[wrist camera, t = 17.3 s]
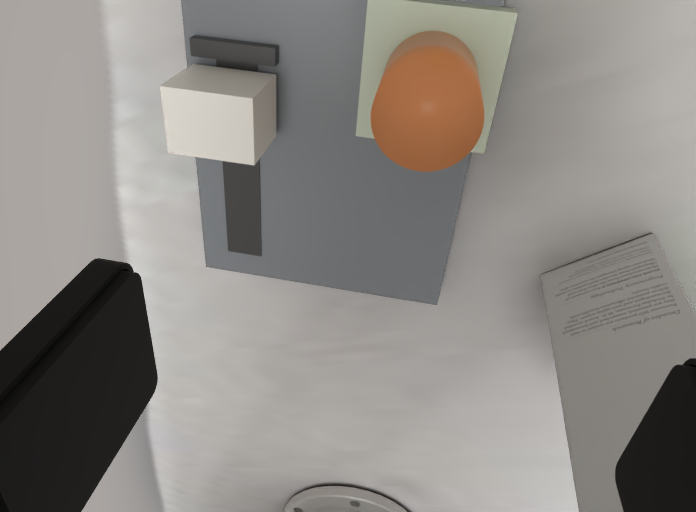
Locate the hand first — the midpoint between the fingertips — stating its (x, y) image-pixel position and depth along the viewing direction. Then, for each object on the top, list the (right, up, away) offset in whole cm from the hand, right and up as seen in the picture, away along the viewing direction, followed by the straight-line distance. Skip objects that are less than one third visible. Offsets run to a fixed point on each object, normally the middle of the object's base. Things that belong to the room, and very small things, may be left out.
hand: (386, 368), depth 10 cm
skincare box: (+15, -1, +21) cm, 26 cm away
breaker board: (-1, +8, +18) cm, 20 cm away
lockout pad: (+3, +10, +14) cm, 18 cm away
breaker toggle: (-6, +10, +16) cm, 20 cm away
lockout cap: (+3, +10, +13) cm, 17 cm away
